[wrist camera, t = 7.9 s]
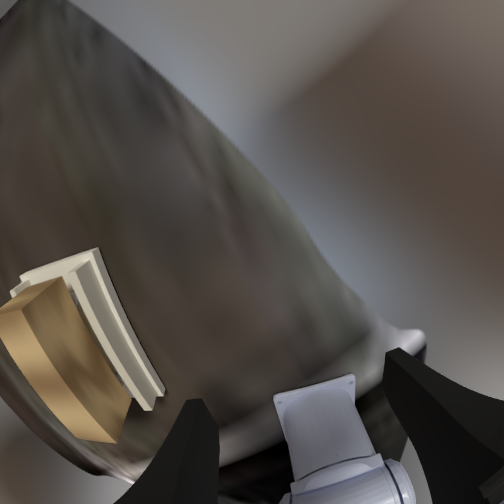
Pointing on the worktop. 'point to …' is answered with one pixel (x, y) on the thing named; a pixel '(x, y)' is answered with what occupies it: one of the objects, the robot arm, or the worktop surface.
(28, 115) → the worktop surface
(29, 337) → the golden brown block
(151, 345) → the worktop surface
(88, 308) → the peg base
